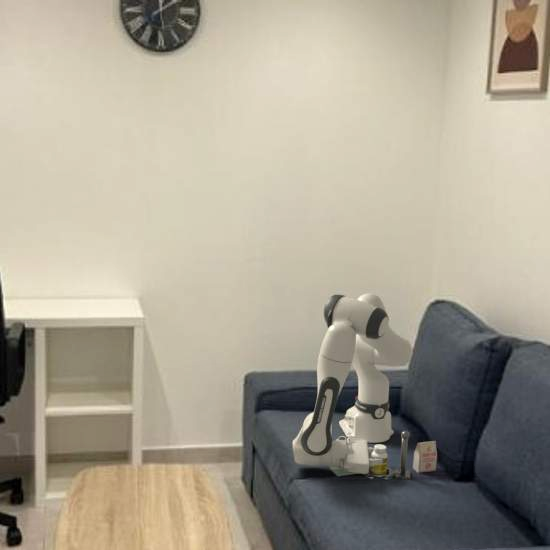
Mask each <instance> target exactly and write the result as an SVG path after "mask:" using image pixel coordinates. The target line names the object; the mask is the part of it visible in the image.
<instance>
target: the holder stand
mask: <svg viewBox="0 0 550 550" xmlns="http://www.w3.org/2000/svg"><path fill="white" fill-rule="evenodd" d="M400 435H401V436H400V437H401V446H400V447H401V448H400V457H399V458H400V459H399V460H400V461H399V469H394V470H393V469H392V468H391V467H389V466H387V470H386V473H387V474H386V475H385V476H383V477H382V479H383V478H391V479H397V478H404V479H403V480H411V472H410V470H407V457H408V444H409V438H410V432H409V431H408V430H403V431H402V432H401V433H400ZM369 471H370V466H369ZM362 475H363V477H365V476H367V477H375V478H376V476H374V475H372V474H370V472H369V473H366V474H362ZM367 477H366V478H367Z"/></svg>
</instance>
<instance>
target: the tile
mask: <svg viewBox="0 0 550 550" xmlns="http://www.w3.org/2000/svg"><path fill="white" fill-rule="evenodd" d="M329 470H331V471H332V472H333V474H334V475H336V476H337V477H343V476H349V475H357V474H360V473H353V472H349V471H347V470H346V469H344V468H331V467H330V468H329Z"/></svg>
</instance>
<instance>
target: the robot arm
mask: <svg viewBox="0 0 550 550" xmlns="http://www.w3.org/2000/svg"><path fill="white" fill-rule="evenodd" d="M323 318H324V322H325V323H326V326H327V328H328V329H327V330H326V333H325V335H324V338H323V339H322V343H321V346H320V349H319V353H318V358H317V367H316V378H317V380H316V381H317V396H316V402H315V406H314V409H313V410H314V411H312V412H310V413H309V414H307V415H306V417H305V419H304V421H303V424H302V426H301V429H300V430H299V433H298V434H297V436H296V437H295V438H294V439H293V440H292V443H291V452H292V453H291V454H292V459H293V461H294V462H295V463H296V464H298V465H302V466H307V467H323V466H325V467H328V468H329V467H331V468H344V469H346V470H347V471H349V472H353V473H359V474H362V475H363V474H366V473H370V470H369V466H375V465H382V464H383V460H382V458H377V459H371V457H370V456H371V454H372V452H373V451H374V447H371V446H368V443H371V444H372V443H384V442H386V441H388V440H390V438H391V436H392V435H394V433H395V432H394V430H393V429H392V414H391V412H390V411H389V409H390V400H389V393H390V392H389V391H390V381H389V379H388V377H387V376H386V375H385V374H384V373H382V372H381V371H379V369H378V367H377V366H376V365H379V366H385V367H386V366H387V367H390V368H391V367H405V366H407V365H408V363H409V362H410V361H411V359H412V355H413V348H412V345H411V343H410V341H409V340H407V339H406V338H403V337H401V336H400V335H398V334H397V333H396V332H395V331H394V330H393V329H392V328H391V327H390V324H389V316H388V312H387V311H386V307H385V305H384V303H383V301H382V299H381V297H379V296H378V295H376V294H375V293H369V292H368V293H364V294H362V295H360V296H359V297H358V298H357V299H356V298H352V297H349V296H346V295H344V294H333V295H332V296H330V297H329V298H328V300H327V301H326V302H325V305H324V309H323ZM352 366H353V368H354V370H355V372H356V375H357V381H358V382H357V383H358V395H356V396H355V404H354V406H352V407H350V408H348V409H347V410H346V413H345V415H344V418H343V419H341V420H339V426H340V428H341V429H342V431H343V433H344V435H345V436H344V435H340V436H339V437H338V438H337V439H335V440H333V437H332V435H333V434H332V433H333V426H332V425H333V424H332V423H333V422H332V421H333V417H334V414H335V409H336V405H337V401H338V399H339V396H340V394H341V392H342V389H343V387H344V385H345V382H346V379H347V378H348V375H349V373H350V369H351V367H352ZM347 437H348V438H347ZM369 455H370V456H369ZM369 457H370V458H369Z"/></svg>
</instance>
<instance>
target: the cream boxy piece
mask: <svg viewBox="0 0 550 550" xmlns="http://www.w3.org/2000/svg"><path fill="white" fill-rule="evenodd" d="M437 451H438V450H437V442H436V440H434V441H433V440H431V441H423V442H417V444H416V447H415V449H414V451H413V464H412V469H413V470H414V471H415V472H417V473H418V474H421V473H429V472H436V471H437V459H438V452H437Z"/></svg>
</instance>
